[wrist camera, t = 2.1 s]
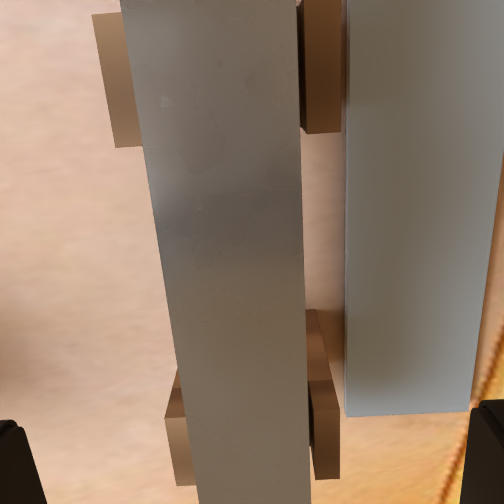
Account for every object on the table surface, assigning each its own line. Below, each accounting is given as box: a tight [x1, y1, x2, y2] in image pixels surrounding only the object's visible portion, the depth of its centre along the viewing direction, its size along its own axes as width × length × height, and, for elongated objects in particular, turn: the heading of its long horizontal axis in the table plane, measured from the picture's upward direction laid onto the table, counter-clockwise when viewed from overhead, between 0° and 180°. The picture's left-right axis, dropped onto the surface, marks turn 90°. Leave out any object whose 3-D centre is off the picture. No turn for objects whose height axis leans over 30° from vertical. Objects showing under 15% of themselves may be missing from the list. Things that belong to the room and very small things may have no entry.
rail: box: [120, 0, 311, 504], centre depth 15 cm, size 22×4×4 cm, turn 4°
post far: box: [164, 310, 340, 486], centre depth 22 cm, size 4×7×8 cm, turn 94°
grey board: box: [344, 0, 504, 417], centre depth 22 cm, size 24×7×1 cm, turn 4°
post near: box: [92, 0, 341, 148], centre depth 17 cm, size 4×7×8 cm, turn 94°
